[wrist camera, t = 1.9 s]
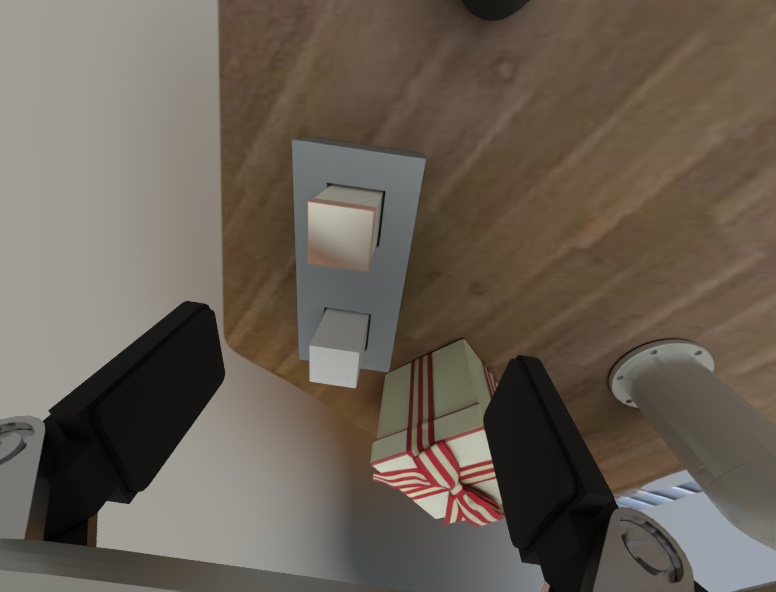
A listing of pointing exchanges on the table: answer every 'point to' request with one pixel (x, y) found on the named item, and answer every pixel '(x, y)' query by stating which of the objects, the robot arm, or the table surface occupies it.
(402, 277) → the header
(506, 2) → the travel mug
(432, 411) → the gift box
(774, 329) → the table surface
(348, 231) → the cream plug
